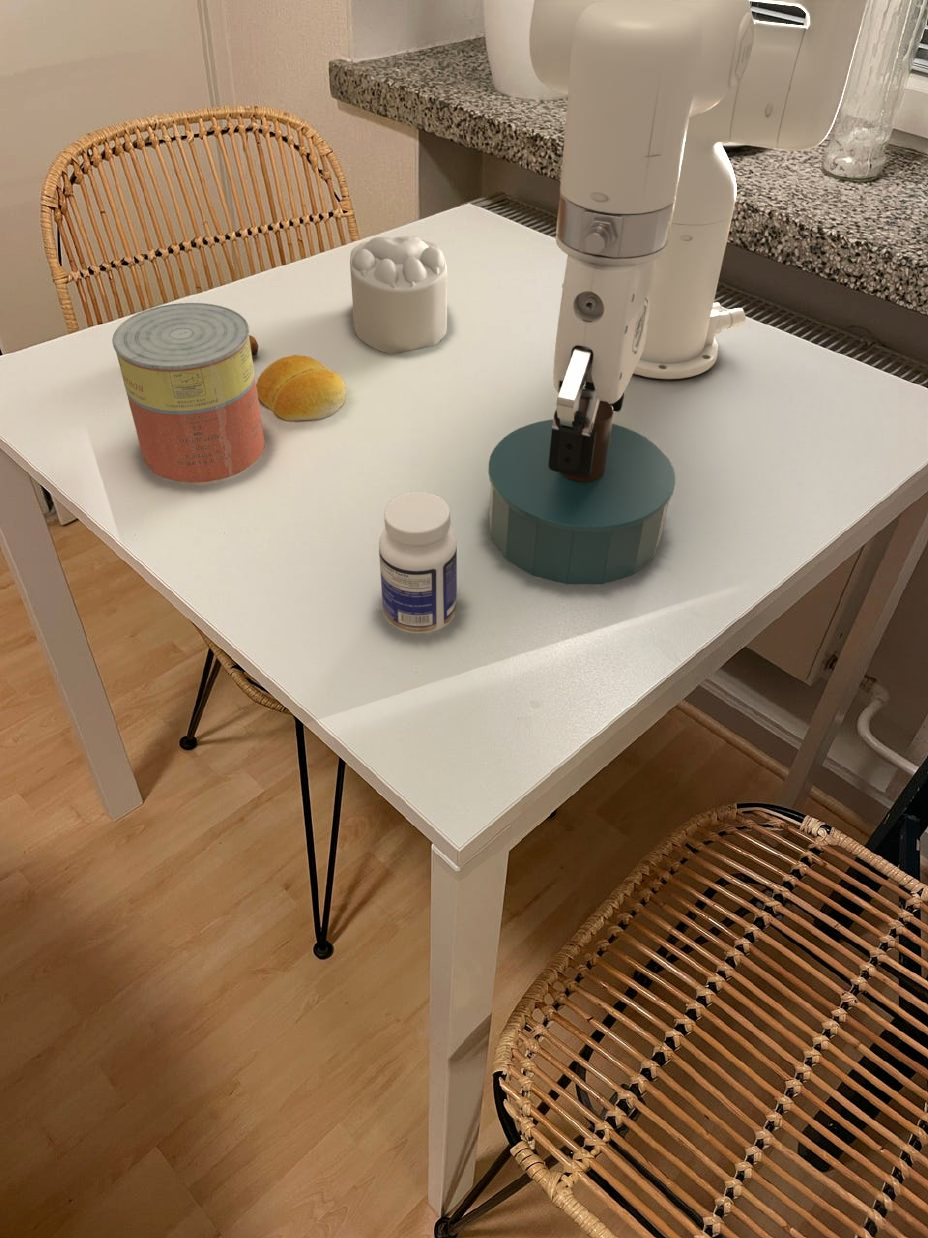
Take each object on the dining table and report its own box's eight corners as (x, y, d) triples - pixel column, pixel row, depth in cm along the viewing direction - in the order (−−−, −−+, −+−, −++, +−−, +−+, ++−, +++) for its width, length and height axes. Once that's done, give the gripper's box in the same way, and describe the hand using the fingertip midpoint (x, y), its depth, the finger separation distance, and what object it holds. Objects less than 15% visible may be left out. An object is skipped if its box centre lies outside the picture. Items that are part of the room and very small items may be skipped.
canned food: (187, 409, 94) (163, 293, 86) (288, 434, 91) (273, 316, 83) (117, 470, 87) (83, 349, 78) (225, 499, 84) (202, 377, 75)
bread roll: (295, 435, 91) (291, 399, 88) (246, 397, 96) (240, 361, 93) (365, 406, 95) (363, 370, 92) (314, 370, 100) (310, 335, 97)
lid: (612, 414, 85) (622, 346, 80) (710, 509, 75) (727, 438, 70) (458, 451, 80) (459, 381, 75) (541, 558, 70) (548, 485, 66)
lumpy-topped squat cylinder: (439, 298, 113) (439, 224, 107) (453, 352, 103) (454, 275, 97) (351, 302, 111) (346, 227, 105) (357, 357, 102) (352, 279, 96)
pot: (603, 468, 88) (612, 410, 84) (691, 561, 79) (706, 501, 75) (462, 505, 84) (463, 445, 80) (538, 608, 75) (544, 547, 70)
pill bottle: (426, 578, 77) (425, 476, 70) (471, 616, 74) (474, 514, 67) (367, 608, 74) (360, 506, 67) (412, 649, 71) (409, 547, 64)
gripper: (639, 285, 56) (604, 512, 69) (694, 183, 68) (656, 393, 80) (519, 264, 58) (506, 489, 70) (593, 168, 70) (571, 375, 82)
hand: (586, 438), depth 75 cm, fingers open, 9 cm apart
